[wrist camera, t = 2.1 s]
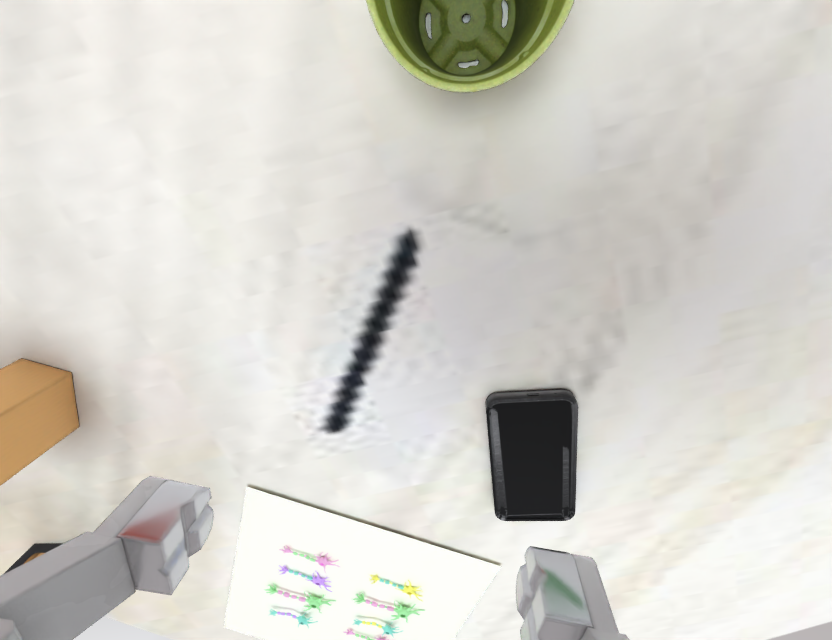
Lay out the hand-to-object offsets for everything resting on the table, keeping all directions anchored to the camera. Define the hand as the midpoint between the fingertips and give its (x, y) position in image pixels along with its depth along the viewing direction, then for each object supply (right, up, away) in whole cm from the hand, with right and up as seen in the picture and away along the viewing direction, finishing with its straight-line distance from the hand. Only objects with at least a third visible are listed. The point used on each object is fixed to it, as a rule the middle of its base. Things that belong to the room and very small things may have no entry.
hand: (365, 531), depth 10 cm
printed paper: (-8, -30, +41) cm, 52 cm away
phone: (+12, -8, +28) cm, 32 cm away
